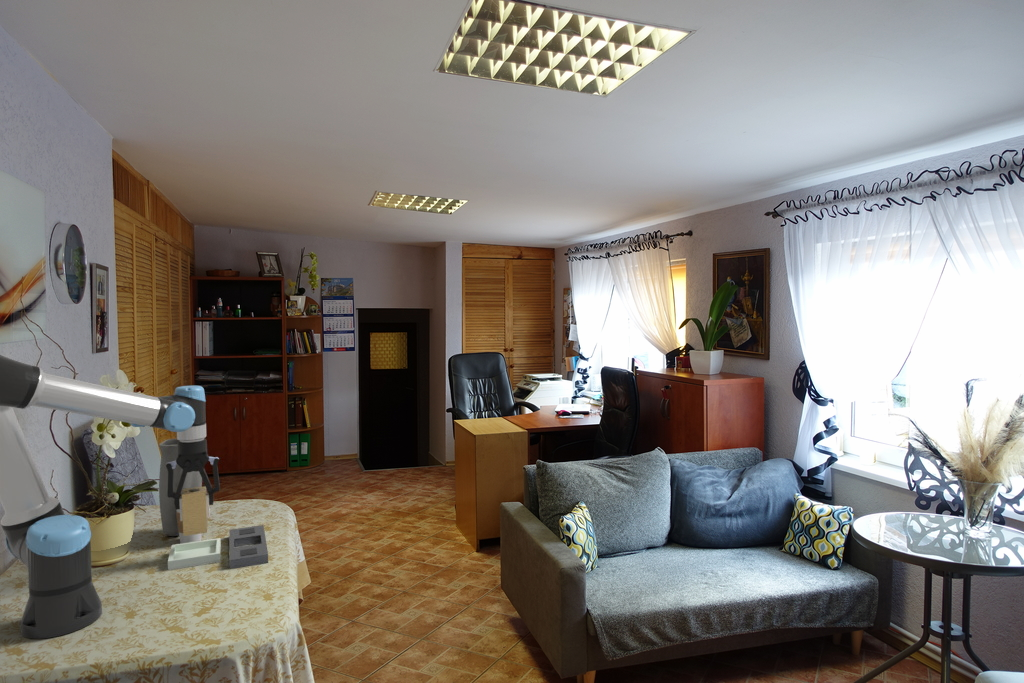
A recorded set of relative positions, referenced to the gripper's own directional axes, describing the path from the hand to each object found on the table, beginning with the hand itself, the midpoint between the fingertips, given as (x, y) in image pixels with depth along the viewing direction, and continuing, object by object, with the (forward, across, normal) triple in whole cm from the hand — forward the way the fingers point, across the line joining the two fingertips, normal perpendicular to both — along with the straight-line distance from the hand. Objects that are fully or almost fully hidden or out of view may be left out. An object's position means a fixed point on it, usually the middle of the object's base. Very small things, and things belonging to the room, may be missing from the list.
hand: (195, 517), depth 176 cm
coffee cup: (+12, +2, -15) cm, 19 cm away
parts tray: (+12, 0, 0) cm, 12 cm away
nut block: (+4, 0, 0) cm, 4 cm away
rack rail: (+12, -14, 0) cm, 18 cm away
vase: (+12, +5, -24) cm, 27 cm away
